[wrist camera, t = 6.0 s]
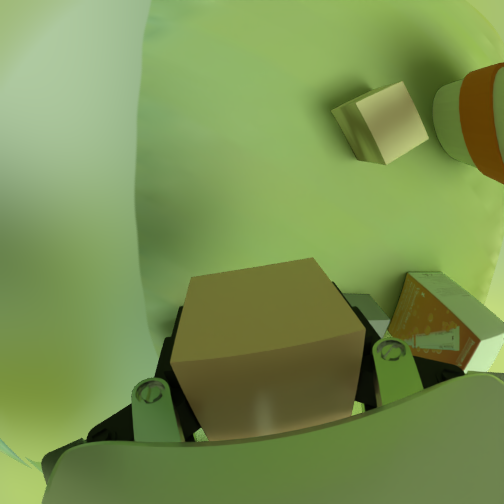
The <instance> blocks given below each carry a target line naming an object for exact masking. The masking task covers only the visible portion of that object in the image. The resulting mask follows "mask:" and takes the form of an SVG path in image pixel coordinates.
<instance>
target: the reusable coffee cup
mask: <svg viewBox="0 0 504 504" xmlns="http://www.w3.org/2000/svg"><path fill="white" fill-rule="evenodd" d="M432 115H433V123H434V128H435V131H436V135H437V137H438V140H439V142H440V144H441V145H442V147H443V149H444V150H445V151H446V152H447V154H448V155H449V156H451V157H452V158H453V159H456V160H458V161H460V162H463V163H466V164H468V165H471V166H473V167H476V168H478V170H479V171H480V172H482V173H483V174H484V175H486V176H487V177H489V178H492V179H494V180H496V181H498V182H500V183H502V184H504V62H503V63H498V64H494V65H491V66H488V67H485V68H481V69H478V70H475V71H472V72H470V73H469V74H467V75H466V77H465V78H464V79H461V80H458V81H456V82H453V83H450V84H447V85H444V86H442V87H441V88H440V89H439V90H438V91H437V93H436V95H435V97H434V101H433V109H432Z"/></svg>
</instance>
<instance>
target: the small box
mask: <svg viewBox="0 0 504 504" xmlns="http://www.w3.org/2000/svg"><path fill="white" fill-rule="evenodd" d="M388 331H389V333H390V334H391V335H392V337H394V338H399V339H401V340H403V341H405V342H406V343H407V344H408V346H409V347H410V350H411V352H412V355H413V356H418V357H422V358H426V359H431V360H435V361H440V362H445V363H449V364H453V365H456V366H458V367H460V368H461V369H462V370H463V371H464V373H467V372H468V371H479V372H487V371H488V370H489V368H490V367H491V365H492V364H493V362H494V360H495V359H496V357H497V355H498V352H499V350H500V349H501V347H502V345H503V343H504V322H503V321H502V320H500V319H499V318H498V317H497V316H496V315H495V314H494V313H492V312H491V311H490V310H489V309H488V308H487V307H485V306H484V305H483V304H482V303H481V302H479V301H478V300H477V299H476V298H475V297H473V296H472V295H471V294H470V293H469V292H467V291H466V290H465V289H463V288H462V287H461V286H460V285H458V284H457V283H456V282H454V281H453V280H451V279H450V278H449V277H448V276H446V275H445V274H443V273H442V272H408V273H407V275H406V279H405V282H404V286H403V289H402V292H401V295H400V298H399V301H398V304H397V307H396V310H395V312H394V315H393V318H392V320H391V323H390V325H389V328H388Z"/></svg>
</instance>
